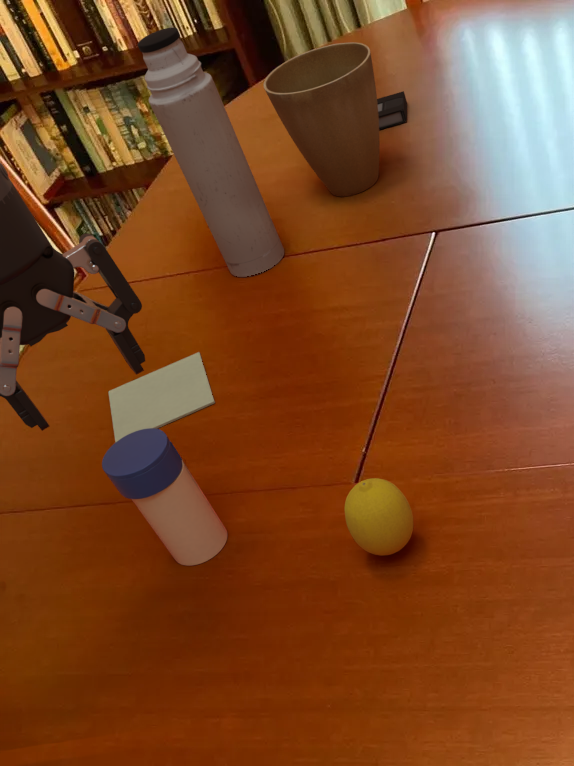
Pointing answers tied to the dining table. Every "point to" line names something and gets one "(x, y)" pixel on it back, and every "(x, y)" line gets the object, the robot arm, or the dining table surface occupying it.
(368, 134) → the plant pot
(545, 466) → the dining table surface
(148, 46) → the thermos bottle
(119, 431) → the mat
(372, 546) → the lemon
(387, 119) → the vhs tape
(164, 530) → the jar
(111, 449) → the lid
